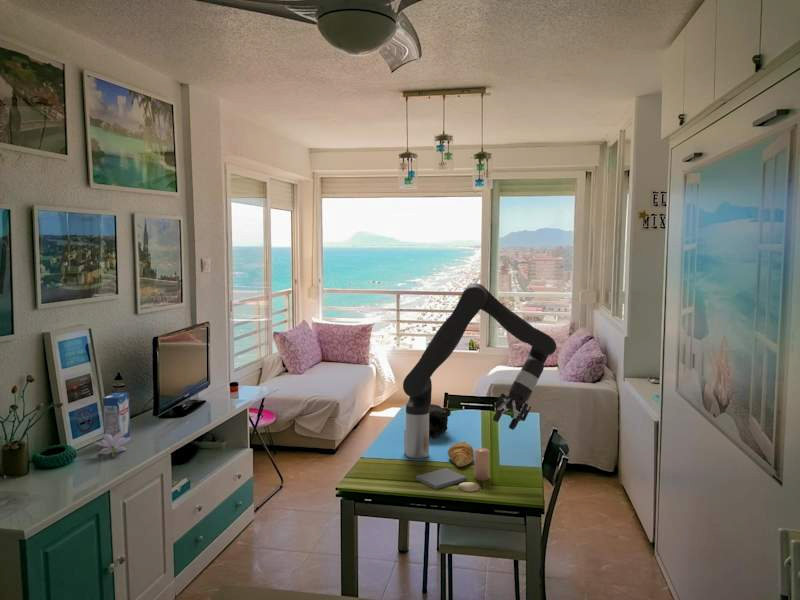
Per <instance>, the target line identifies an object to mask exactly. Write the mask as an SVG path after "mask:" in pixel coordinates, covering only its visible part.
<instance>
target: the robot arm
mask: <svg viewBox="0 0 800 600" xmlns="http://www.w3.org/2000/svg"><path fill="white" fill-rule="evenodd" d="M480 311H483V312H485V313H486V314H488V315H489V316H491V317H492V318H493V319H494V320H495V321H496V322H497V323H498V324H499V325H500V326H501V327H502V328H503V329H504V330H505V331H506V332H508V333H509V334H511V335H512V336H513V337H515V339H516V340H517V339H518V341H520V342H522V343H524V344H528V345H530V346H531V348H530V350H529V353H528V356H527V359H526V360H525V362H524V364H523V365H522V367H521V369H520V371H519V373H518V374H517V375H516V377H515V379H514V380H513V382H512V384H511V386H510V389H509V391H508V395H506V394H505V393H503V392H502V393H501V394H500V396H499V397H498V398H497V400H496V402H495V404H494V408H495V409H496V411H495V413H494V415H493V418H492V419H493V421H494V422H496V423H498V422H499V421H500V419H501V417H502V415H503V413H504V412H507V411H512V412H513V418H512V419H511V421H510V423H509V424H508V425H509V426H508V429H510V430H512V431H513V430H515V429H516V428H517V426H518V423H519V422H520V421H522V422H524V421H526V419H527V417H528V415H529V413H530V411H531V408H532V407H531V405H529V403H526V402H528V401H529V400H530V398H531V396H532V394H533V392H534V390H535V388H536V386H537V384H538V381H539V380H540V378H541V375H542V373H543V371H544V369H545V362H547V359H548V357H549V356H551V355H553V354H554V353H555V352H556V349H557V343H556V341H555V340H554V338H552V337H551V336H550V335H548V334H547V333H545V332H543V331H541V330H540V329H538V328H536V327H534V326H532V324H530V323H529V322H527V321H526V320H525V319H524V318H523V317H522V318H521V317H520V316H519V315H518V314H516V313H515V312H514V311H512V310H510V308H508V307H507V306H506V305H504V304H503V303H502V302H500V301H499V299H497V298H496V297H495V296H494V295H493V294H492V293H491V292H490V291H489V290H488V289H487V288H486V287H485V286H484V285H482V284H481V283H477V282H475V283H471V284H469V285H467V286H466V287H465V288H464V290H463V292H462V294H461V296H460V298H459V299H458V302H457V304H456V306H455V307H454V310H453V311H452V313H451V314H450V315H449V316H448V317H447V319H446V320H445V321H444V322H443V323H442V325H441V326H440V327H439V328H438V330H437V331H436V333H435V334H434V336H433V337H432V339H431V341H430V342H429V344H428V345H427V347H426V348H425V350H424V351H423V354H422V355H421V357H420V358H419V360H418V361H417V363H416V364H415V365H414V366H413V367H412V368H411V370H410V372H409V373H408V374H407V375H406V376H405V377H404V379H403V382H402V388H403V391H404V393H405V395H407V396H408V397H409V399H408V401H407V403H406V405H405V429H404V431H403V432H404V433H403V435H404V436H403V437H404V438H403V439H404V440H403V441H404V442H403V444H404V445H403V446H404V447H403V448H404V449H403V450H404V451H403V452H404V454H405V456H406V457H409V458H411V459H425V458H427V457H429V455H430V439H429V408H430V405H431V404H432V403H431V402H432V388H433V387H432V385H433V384H432V379H431V377H432V376H433V374H435V373H434V372H436V370H437V369H438V368H439V367H441V366H442V365H443V364H444V362H445V361H446V360H447V359H448V358H449V357H450V356H451V355H452V354H453V352H454V351H455V349H456V348H457V347H458V345H459V343H460V342H461V339H462V338H463V336H464V333H465V332H466V330H467V328H468V326H469V325H470V323H471V322H472V320H473V319H474V317H475V316H477V314H478V313H479V312H480Z"/></svg>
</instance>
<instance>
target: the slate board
mask: <svg viewBox="0 0 800 600" xmlns="http://www.w3.org/2000/svg"><path fill="white" fill-rule="evenodd" d="M415 480H416V481H418V482H420V483H422V484H424V485H426V486H428V487H430V488H433V489H435V490H438V489H441V488H444V487H445V488H446V487H448V486H451V485H455V484H460V483H463V482H465V481H466V482H467V476H465V475H464V474H461V473H458V472H456V471H454V470H451V469H450V468H447V467H445V468H440V469H437V470H434V471H430V472H426V473H421V474H419V475H415Z"/></svg>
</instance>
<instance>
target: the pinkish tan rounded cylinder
mask: <svg viewBox="0 0 800 600" xmlns="http://www.w3.org/2000/svg"><path fill="white" fill-rule="evenodd" d="M473 468H474V474H473V475H474V477H473V478H474V479H475V480H477V481H480V482H481V481H482V482H483V481H489V479H490V449H488V448H485V447H478V448H475V449H474V467H473Z"/></svg>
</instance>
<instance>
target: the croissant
mask: <svg viewBox="0 0 800 600" xmlns="http://www.w3.org/2000/svg"><path fill="white" fill-rule="evenodd" d="M447 456H448V457H449V459H450V460H451V462H453V464H454V465H456V466H457V467H459V468H460V467H461V468H462V467H465V466H467V465H469V464H470V463H472V462H473V461H475V450H474V449H473V446H472V445H471V444H469V443H467V442H466V441H459V442H456V443H454V444H452V445H451V446H450V447H449V449H447Z"/></svg>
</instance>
